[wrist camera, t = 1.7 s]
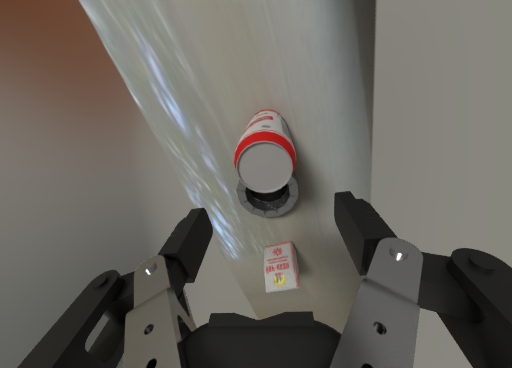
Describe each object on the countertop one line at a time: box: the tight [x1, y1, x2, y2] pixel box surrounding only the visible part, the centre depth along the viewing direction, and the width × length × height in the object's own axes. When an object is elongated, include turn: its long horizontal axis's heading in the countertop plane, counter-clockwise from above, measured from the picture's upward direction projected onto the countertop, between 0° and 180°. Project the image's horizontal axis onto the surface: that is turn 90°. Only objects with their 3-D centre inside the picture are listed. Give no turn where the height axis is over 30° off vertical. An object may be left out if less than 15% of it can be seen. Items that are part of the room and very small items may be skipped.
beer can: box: [234, 110, 296, 193], centre depth 23 cm, size 6×6×16 cm
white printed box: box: [264, 241, 300, 293], centre depth 40 cm, size 4×7×10 cm, turn 112°
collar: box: [237, 173, 299, 217], centre depth 34 cm, size 11×11×3 cm
